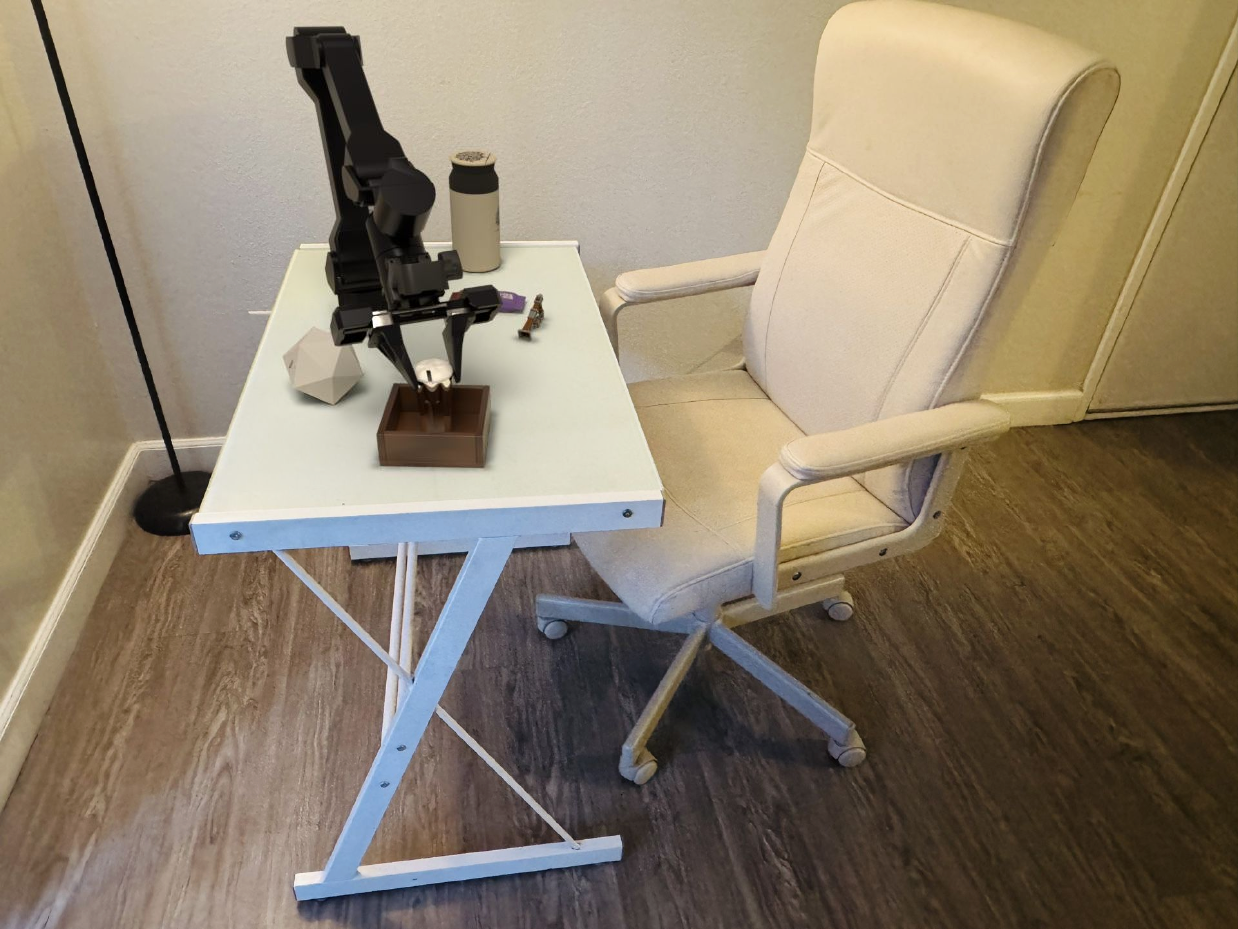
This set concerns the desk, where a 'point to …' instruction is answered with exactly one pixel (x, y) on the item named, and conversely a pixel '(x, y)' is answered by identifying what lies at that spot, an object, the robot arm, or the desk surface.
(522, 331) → the wooden post with brackets
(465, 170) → the travel mug
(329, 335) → the die
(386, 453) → the open box
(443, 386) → the milkshake
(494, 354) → the desk surface
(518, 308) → the snack package
